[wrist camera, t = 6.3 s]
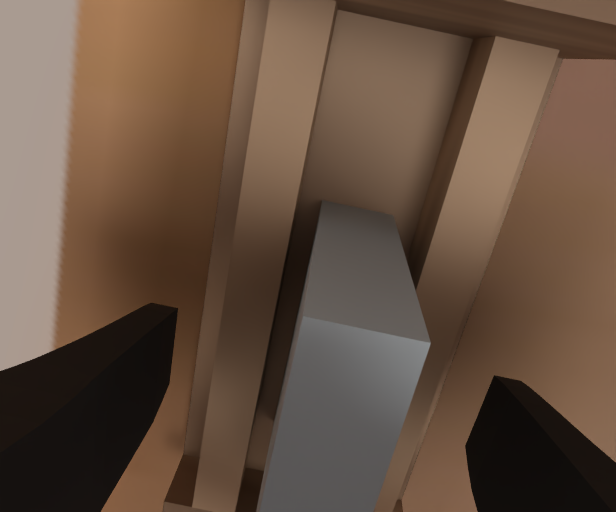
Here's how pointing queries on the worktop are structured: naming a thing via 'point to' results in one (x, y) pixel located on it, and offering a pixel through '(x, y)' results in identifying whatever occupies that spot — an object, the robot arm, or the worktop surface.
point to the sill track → (362, 191)
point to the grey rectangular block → (346, 368)
